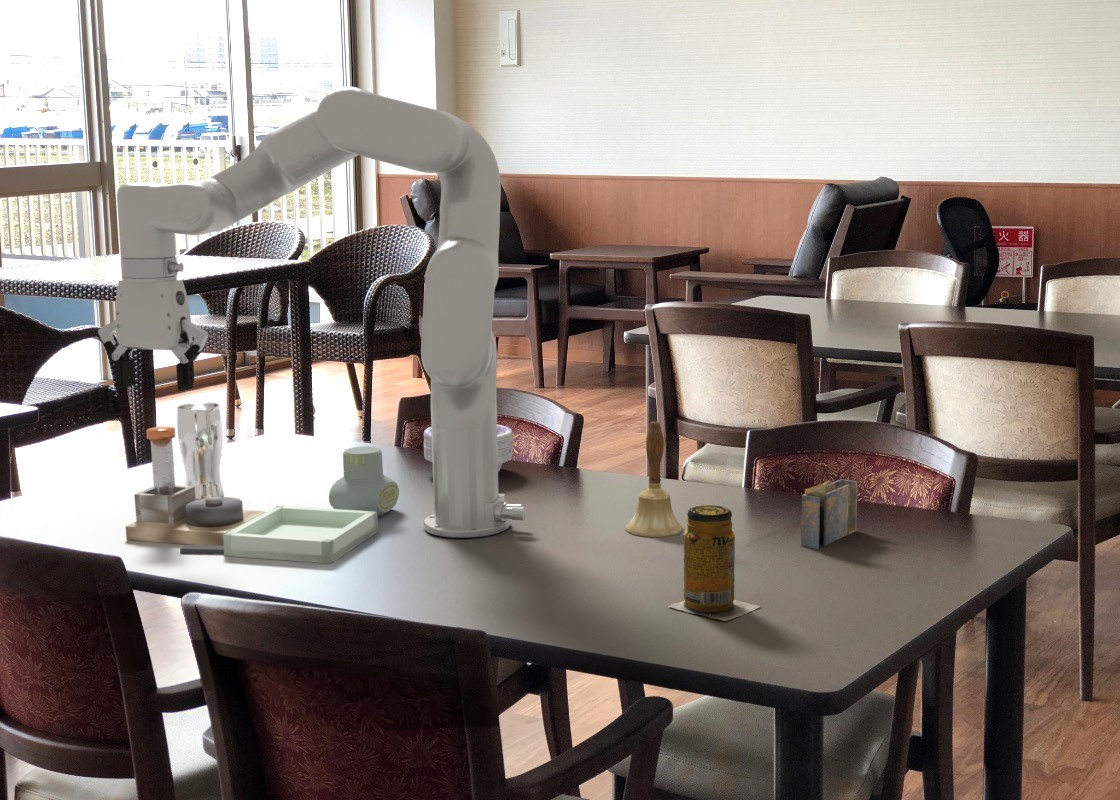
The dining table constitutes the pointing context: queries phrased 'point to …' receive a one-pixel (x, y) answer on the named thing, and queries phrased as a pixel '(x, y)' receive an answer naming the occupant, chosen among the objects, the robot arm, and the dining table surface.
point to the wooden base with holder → (186, 517)
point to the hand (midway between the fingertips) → (156, 388)
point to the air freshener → (364, 483)
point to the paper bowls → (502, 444)
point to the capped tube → (162, 459)
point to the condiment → (710, 565)
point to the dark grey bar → (203, 549)
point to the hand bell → (654, 495)
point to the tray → (301, 534)
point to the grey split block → (828, 512)
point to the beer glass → (201, 447)
